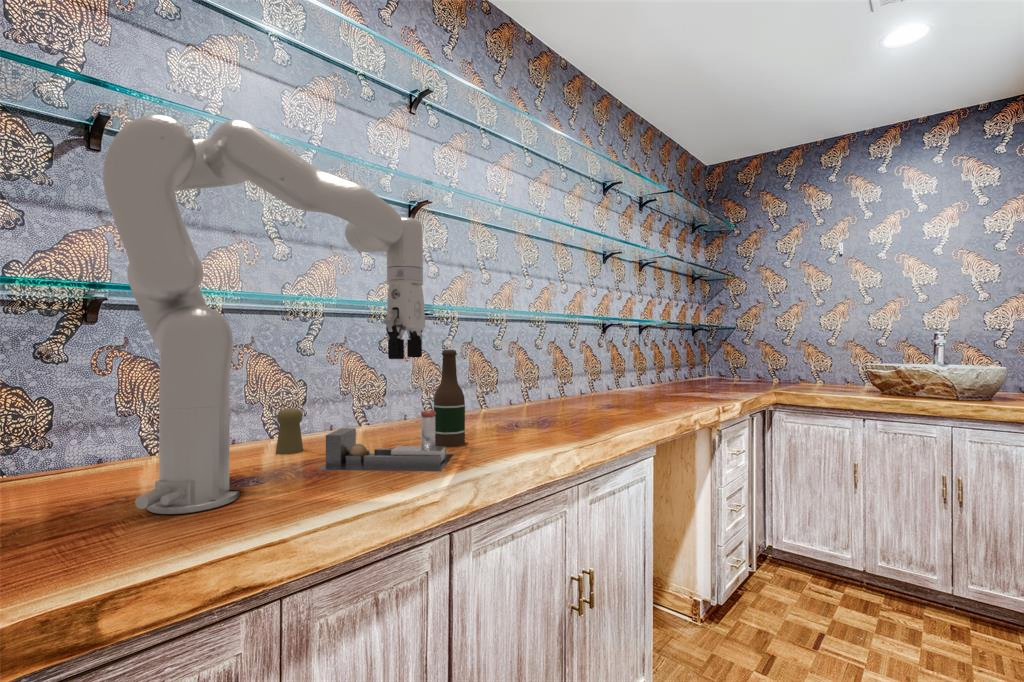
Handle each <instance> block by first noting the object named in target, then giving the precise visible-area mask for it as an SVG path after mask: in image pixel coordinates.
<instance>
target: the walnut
mask: <svg viewBox="0 0 1024 682" xmlns="http://www.w3.org/2000/svg"><path fill="white" fill-rule="evenodd" d="M367 450H368V449H367V447H366V446H365V445H364V444H362V443H356V444H355V445H353V446H352V447H351V448H350V451H349V455H360V456H362V460H363V459H364V456H366V455H367Z"/></svg>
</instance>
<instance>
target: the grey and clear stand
mask: <svg viewBox="0 0 1024 682" xmlns="http://www.w3.org/2000/svg"><path fill="white" fill-rule="evenodd" d="M435 415H436V411H434V410H422V411H420V416H421V417H420V418H421V419H420V420H421V422H420V425H421V428H420V429H421V431H420V434H421V436H420V437H421V439H420V441H421V443H420V444H421V445H416V446H415V445H397V446H395V447H394V448H392V449H393V450H391V456H440V463H442V461H443V460H444V459H445V449H446V447H440V446H435Z"/></svg>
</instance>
